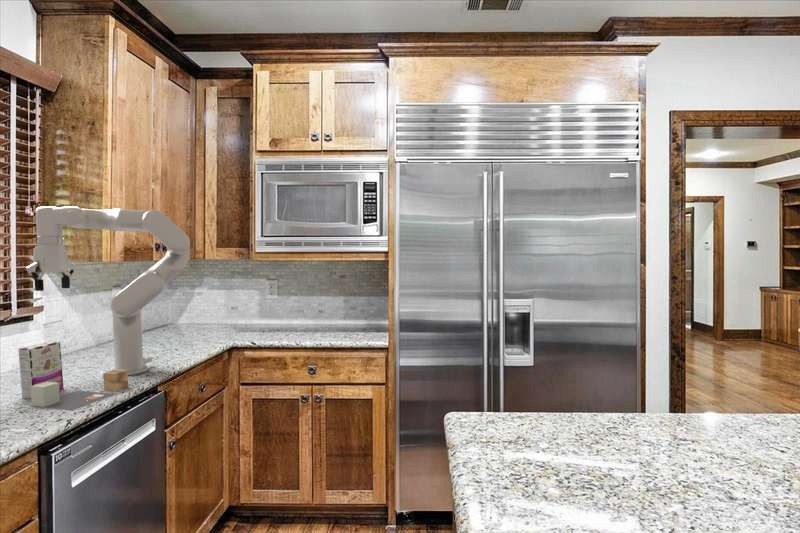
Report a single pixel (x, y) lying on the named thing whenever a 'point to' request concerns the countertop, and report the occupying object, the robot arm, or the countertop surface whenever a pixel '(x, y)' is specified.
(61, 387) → the candy bar box
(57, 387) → the sage block
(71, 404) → the mat
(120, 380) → the oak block
